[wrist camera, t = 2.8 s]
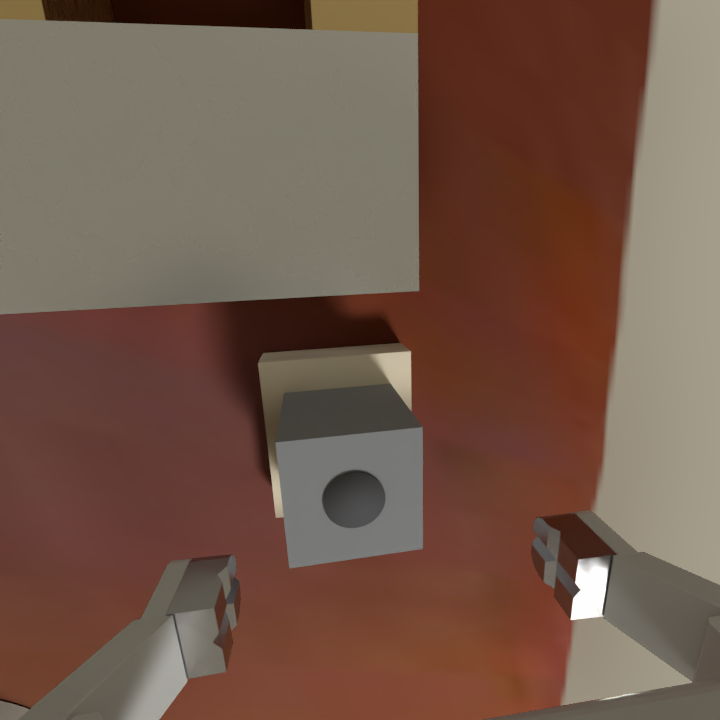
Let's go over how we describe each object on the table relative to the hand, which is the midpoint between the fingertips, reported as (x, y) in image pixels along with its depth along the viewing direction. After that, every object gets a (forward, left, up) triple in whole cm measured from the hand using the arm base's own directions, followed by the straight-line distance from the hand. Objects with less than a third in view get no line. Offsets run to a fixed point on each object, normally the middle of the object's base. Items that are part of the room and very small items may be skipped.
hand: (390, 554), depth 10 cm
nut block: (-1, +1, -8) cm, 8 cm away
